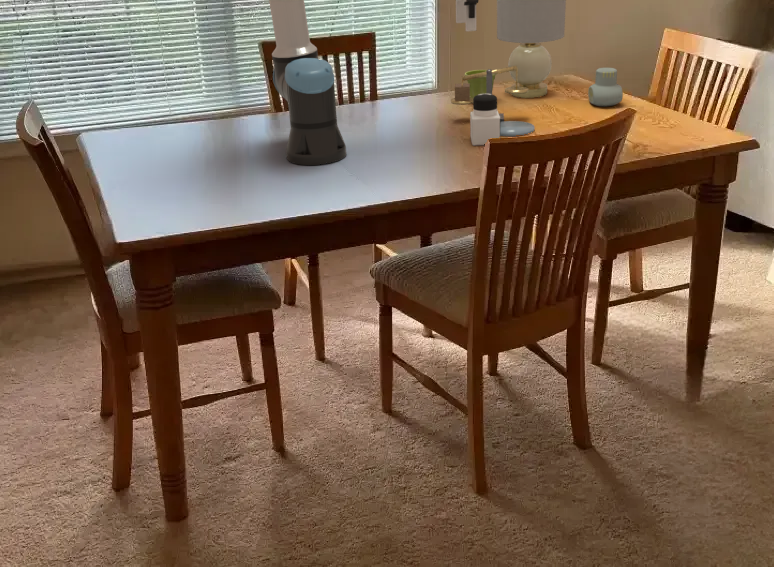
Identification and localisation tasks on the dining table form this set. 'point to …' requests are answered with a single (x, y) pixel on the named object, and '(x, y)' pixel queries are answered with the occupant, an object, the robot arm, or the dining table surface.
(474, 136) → the medicine bottle
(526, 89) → the balance scale
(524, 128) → the dish
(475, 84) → the plant pot
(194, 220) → the dining table surface
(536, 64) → the lamp
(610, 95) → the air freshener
